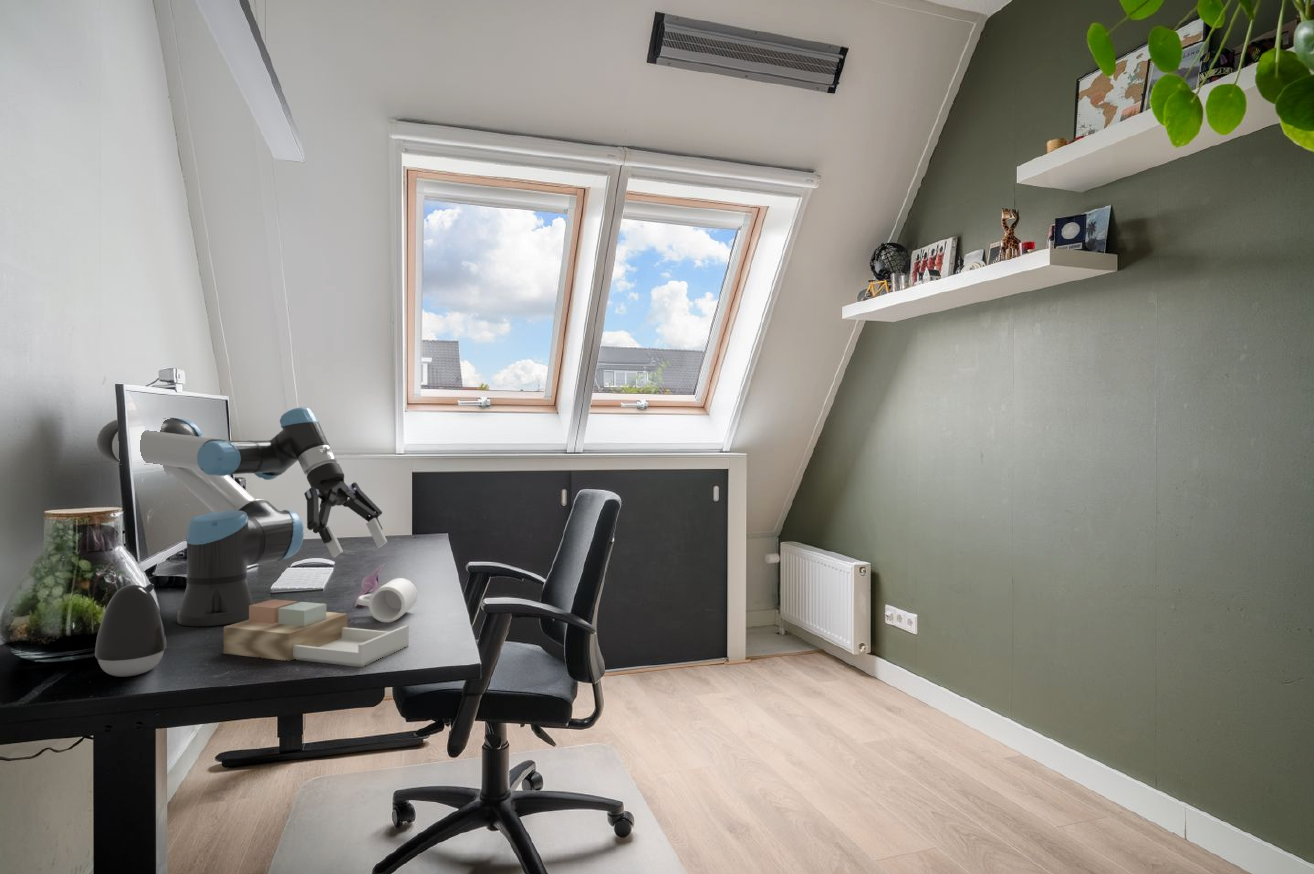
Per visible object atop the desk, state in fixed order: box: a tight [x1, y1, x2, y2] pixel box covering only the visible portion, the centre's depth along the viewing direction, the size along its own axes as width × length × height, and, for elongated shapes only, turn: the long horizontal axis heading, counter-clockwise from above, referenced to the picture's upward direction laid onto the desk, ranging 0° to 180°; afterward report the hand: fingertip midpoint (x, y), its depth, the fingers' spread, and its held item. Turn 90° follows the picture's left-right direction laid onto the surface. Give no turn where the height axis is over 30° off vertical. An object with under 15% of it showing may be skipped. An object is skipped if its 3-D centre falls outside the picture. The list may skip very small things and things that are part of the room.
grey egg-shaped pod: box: [94, 583, 167, 678], centre depth 133 cm, size 10×10×15 cm
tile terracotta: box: [248, 598, 298, 624], centre depth 151 cm, size 6×6×3 cm
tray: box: [292, 625, 410, 668], centre depth 146 cm, size 15×14×4 cm
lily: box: [354, 562, 386, 607], centre depth 187 cm, size 12×12×10 cm
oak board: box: [223, 611, 349, 662], centre depth 150 cm, size 15×16×5 cm
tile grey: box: [278, 601, 327, 626], centre depth 149 cm, size 6×6×3 cm
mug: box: [356, 577, 418, 623], centre depth 173 cm, size 12×10×8 cm
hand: (361, 549), depth 173 cm, fingers open, 13 cm apart
